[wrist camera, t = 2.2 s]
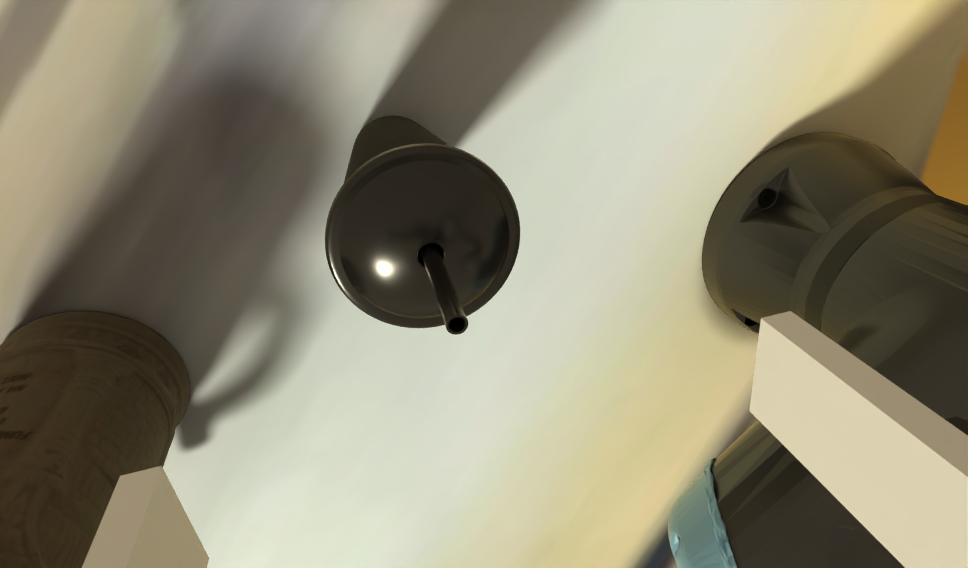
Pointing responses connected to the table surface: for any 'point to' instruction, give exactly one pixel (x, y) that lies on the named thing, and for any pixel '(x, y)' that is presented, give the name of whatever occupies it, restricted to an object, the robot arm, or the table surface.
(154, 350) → the beer stein
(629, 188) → the table surface
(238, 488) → the table surface
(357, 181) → the drinking cup
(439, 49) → the table surface
